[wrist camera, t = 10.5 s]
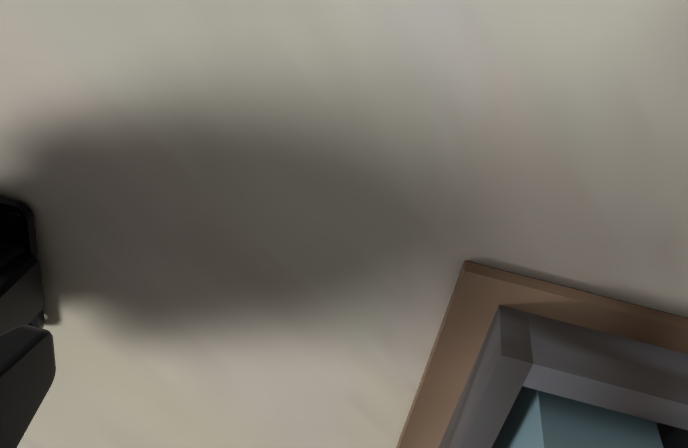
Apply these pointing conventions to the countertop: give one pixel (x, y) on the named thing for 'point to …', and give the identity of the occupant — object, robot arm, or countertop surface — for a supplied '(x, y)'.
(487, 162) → the countertop surface
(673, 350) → the socket board
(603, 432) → the cabinet block
